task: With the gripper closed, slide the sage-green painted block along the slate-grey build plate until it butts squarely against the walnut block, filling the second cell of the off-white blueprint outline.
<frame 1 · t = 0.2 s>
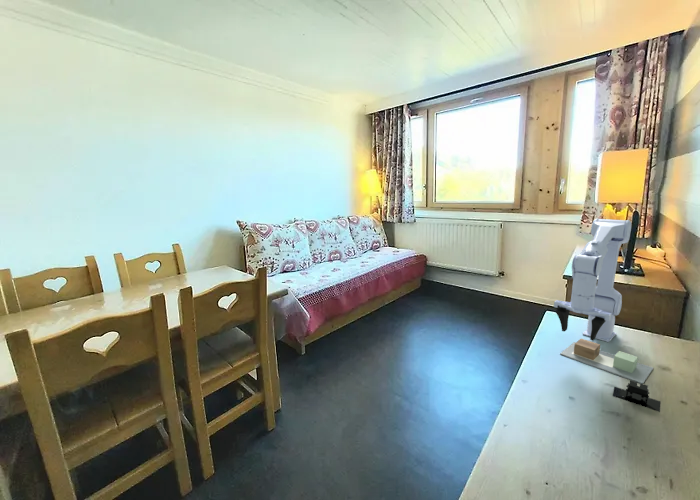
hand: (578, 334, 100), 10 cm above the table, fingers open, 7 cm apart
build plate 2: (635, 401, 85), on the table
build plate: (604, 361, 102), on the table
walnut block: (586, 353, 106), resting on build plate
green block: (624, 366, 98), resting on build plate
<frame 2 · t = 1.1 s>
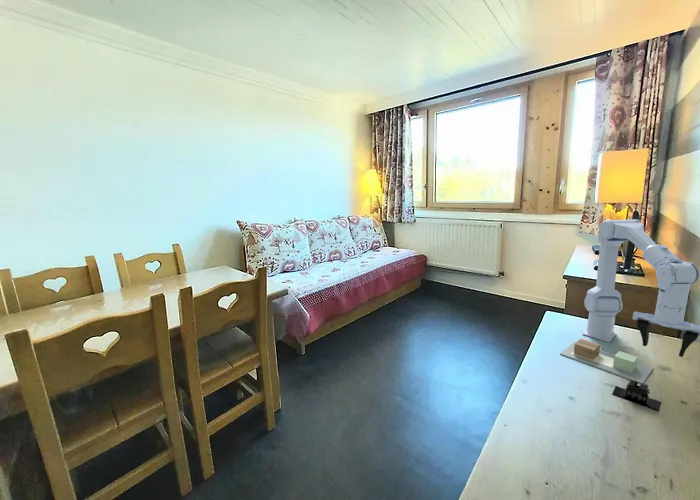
hand: (662, 350, 90), 9 cm above the table, fingers open, 7 cm apart
nothing on the table moved.
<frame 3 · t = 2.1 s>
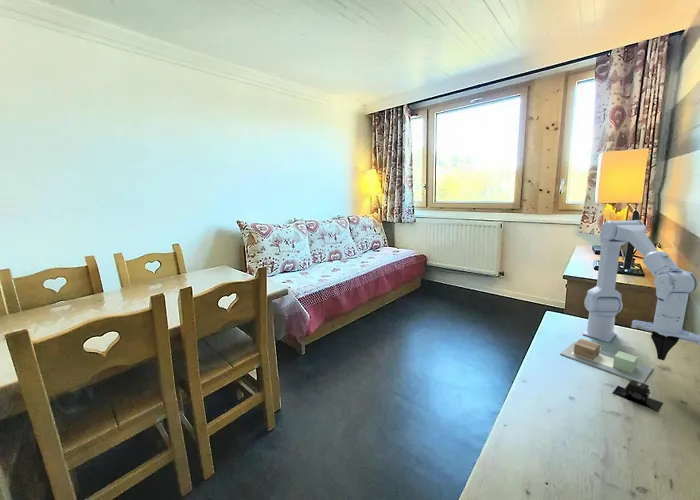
hand: (661, 358, 91), 7 cm above the table, fingers closed
nothing on the table moved.
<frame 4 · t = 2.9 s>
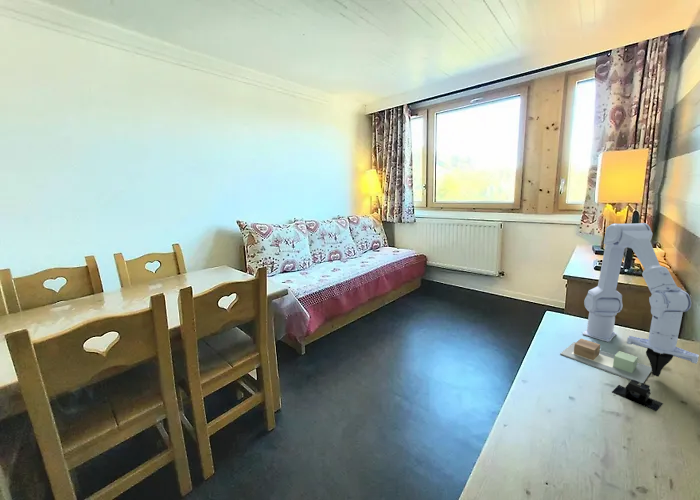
hand: (656, 374, 92), 1 cm above the table, fingers closed
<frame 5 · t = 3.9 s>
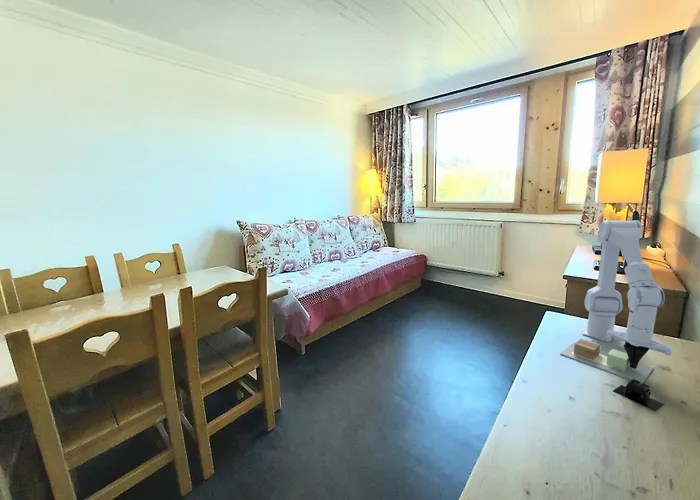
hand: (633, 366, 96), 1 cm above the table, fingers closed
green block: (617, 364, 99), resting on build plate, touching gripper
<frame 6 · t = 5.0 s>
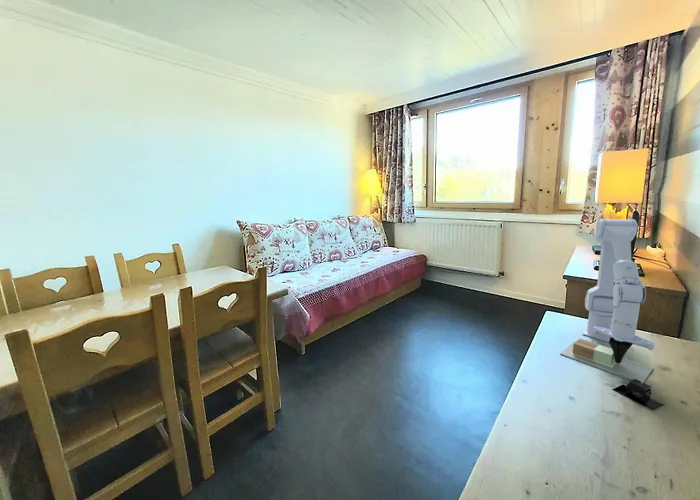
hand: (618, 361, 99), 1 cm above the table, fingers closed
walnut block: (585, 353, 106), resting on build plate, touching green block
green block: (603, 359, 102), resting on build plate, touching gripper, walnut block
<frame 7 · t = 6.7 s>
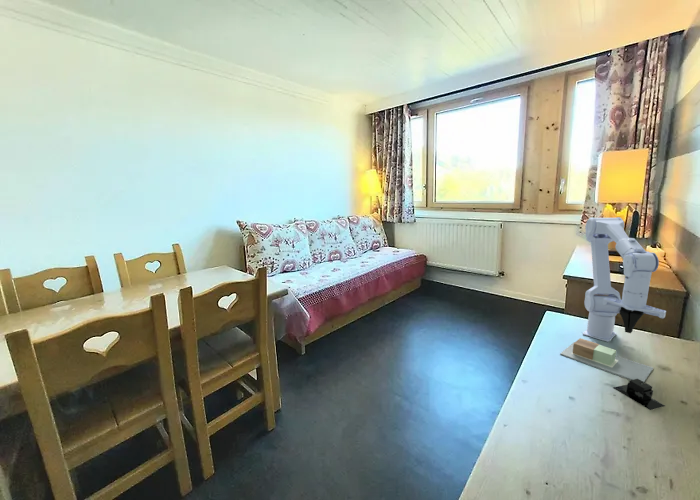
hand: (628, 331, 100), 10 cm above the table, fingers closed
walnut block: (585, 353, 106), resting on build plate
green block: (603, 359, 102), resting on build plate
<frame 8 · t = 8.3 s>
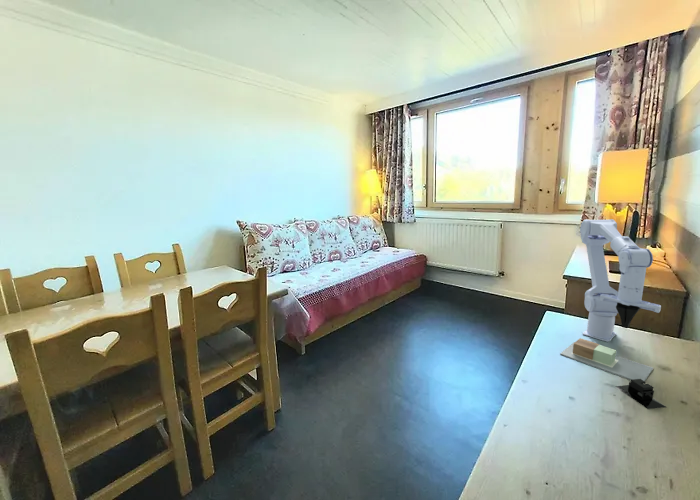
hand: (625, 326, 102), 10 cm above the table, fingers closed
at the end: green block 0.6 cm from the target spot on the table beside the walnut block, resting on build plate; green block tilted 0°; walnut block moved 0.3 cm from its start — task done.
